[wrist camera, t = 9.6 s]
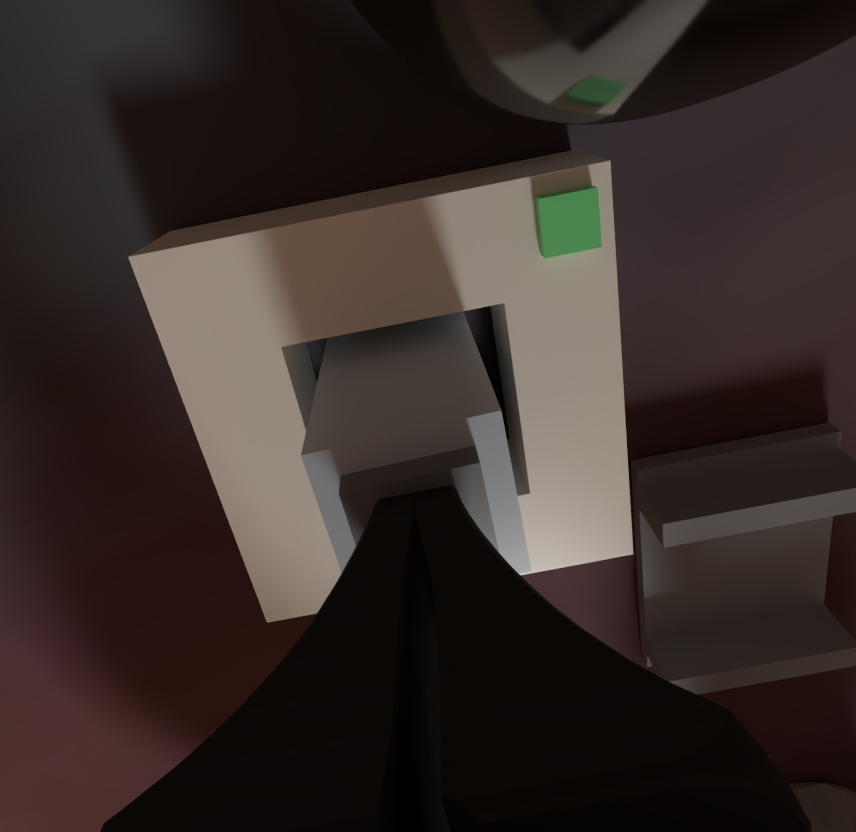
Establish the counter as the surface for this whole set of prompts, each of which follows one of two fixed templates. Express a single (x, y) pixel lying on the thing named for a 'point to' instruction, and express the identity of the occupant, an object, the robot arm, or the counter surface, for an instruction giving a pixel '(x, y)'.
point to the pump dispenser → (604, 50)
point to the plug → (410, 431)
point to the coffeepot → (827, 806)
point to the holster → (741, 558)
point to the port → (393, 304)
